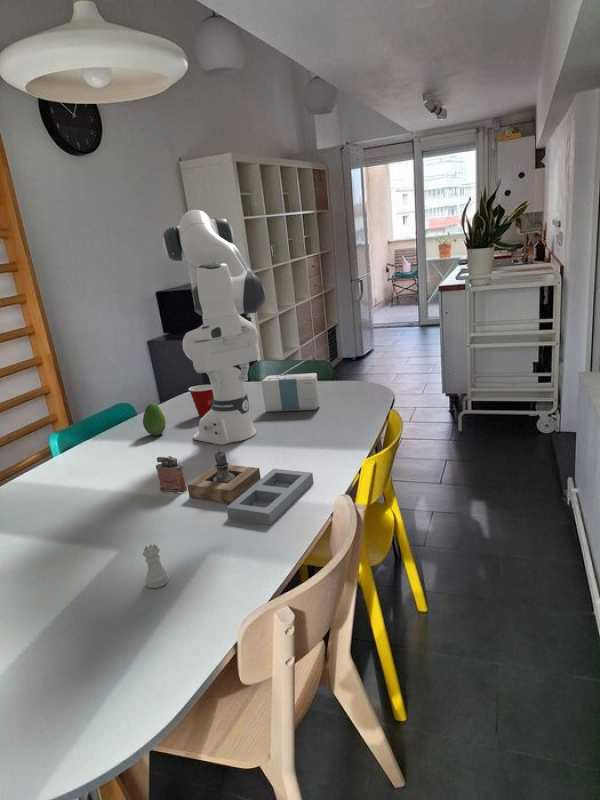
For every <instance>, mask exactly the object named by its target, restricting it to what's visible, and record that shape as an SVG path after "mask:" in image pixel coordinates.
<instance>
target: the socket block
mask: <svg viewBox="0 0 600 800" xmlns="http://www.w3.org/2000/svg"><path fill="white" fill-rule="evenodd" d="M228 470H229V473H232V474H234V475H235V478H234V479H232V480H231V481H230V482H229V483H220V482H214V481H213V479H214V477H215V476H217V467H215V465H213V466H212V467H211V468H209V469H207V470H206V471H205V472H203V473H202V474H200V475H199V476H198V477H195V479H193V480H192V481H190V482H188V483H187V485H186V487H187V491H188V498H189V499H191V498H192V500H199V501H205V502H212V503H213V502H214V503H219V504H220V503H221V504H227V505H230V504H231V503H232V502H233V501H235V500H236V499H237V498H238V497H240V496H241V495H242V494H243V493H244V492H246V491H247V490H248V489H249V488H251V487H252V486H253V485H254V484H255V483H257V482H258V481H259V480H260V479H262V478H261V472H260V467H253V466H244V465H243V466H242V465H235V464H234V465H233V464H228Z"/></svg>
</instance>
